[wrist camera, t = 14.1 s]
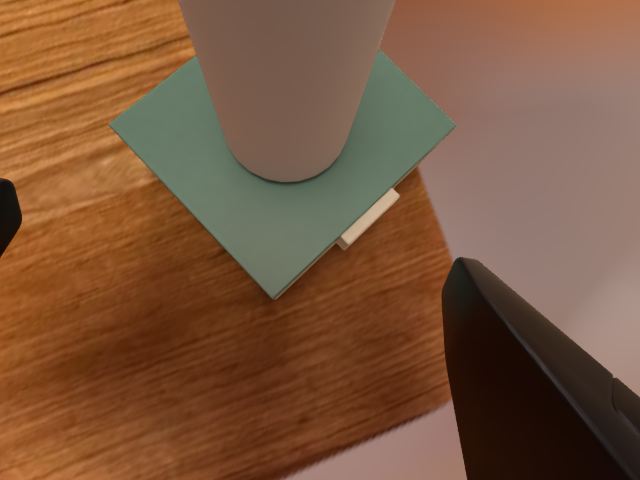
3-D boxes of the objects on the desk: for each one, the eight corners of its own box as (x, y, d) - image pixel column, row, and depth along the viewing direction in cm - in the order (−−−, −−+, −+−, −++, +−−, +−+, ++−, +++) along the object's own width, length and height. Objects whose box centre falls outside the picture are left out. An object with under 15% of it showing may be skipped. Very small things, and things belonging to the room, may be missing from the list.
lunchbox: (427, 172, 23) (466, 133, 18) (282, 310, 21) (281, 309, 16) (298, 43, 23) (301, -29, 19) (147, 167, 22) (107, 123, 17)
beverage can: (236, 198, 17) (118, -90, 5) (213, 81, 17) (62, -413, 6) (359, 174, 17) (520, -135, 5) (332, 62, 18) (422, -426, 6)
